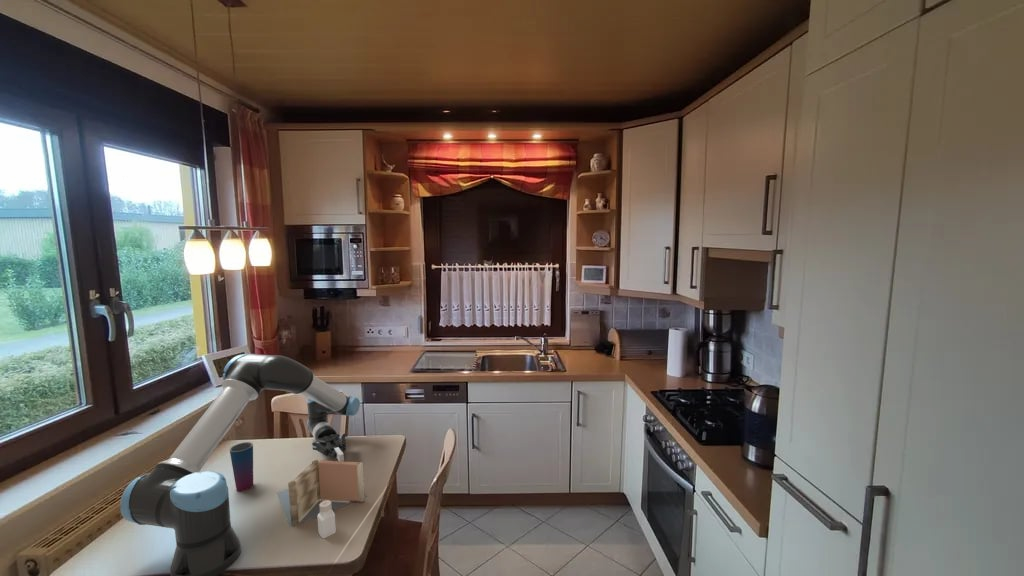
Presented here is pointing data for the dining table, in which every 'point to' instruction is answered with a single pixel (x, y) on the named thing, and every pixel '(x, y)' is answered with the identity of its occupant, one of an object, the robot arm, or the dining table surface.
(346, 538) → the dining table surface
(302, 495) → the fixed fence section
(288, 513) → the card
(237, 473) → the cup
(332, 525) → the salt shaker
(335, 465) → the pink wooden flat board
